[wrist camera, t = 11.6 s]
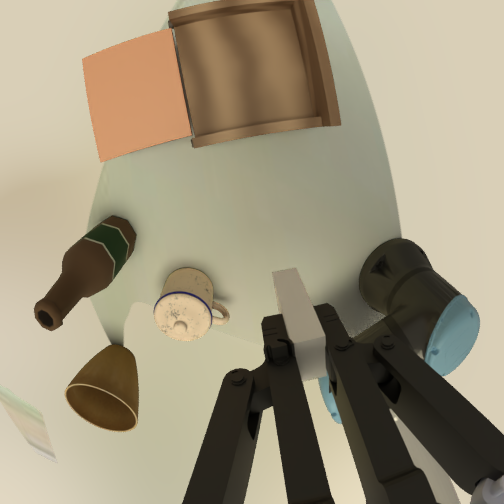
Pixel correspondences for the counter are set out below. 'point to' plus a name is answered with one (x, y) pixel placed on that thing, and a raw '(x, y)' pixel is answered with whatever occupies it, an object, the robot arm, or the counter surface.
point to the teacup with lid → (187, 306)
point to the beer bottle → (87, 269)
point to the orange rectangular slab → (136, 95)
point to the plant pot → (107, 390)
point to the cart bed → (254, 68)
